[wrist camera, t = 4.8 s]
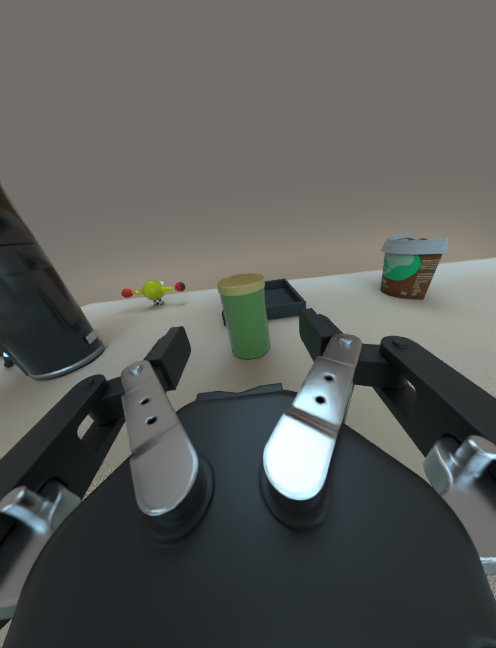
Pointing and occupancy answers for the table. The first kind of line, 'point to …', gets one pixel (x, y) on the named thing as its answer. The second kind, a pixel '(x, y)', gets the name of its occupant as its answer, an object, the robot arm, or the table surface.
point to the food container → (410, 265)
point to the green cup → (245, 314)
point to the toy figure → (153, 290)
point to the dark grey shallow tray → (281, 300)
